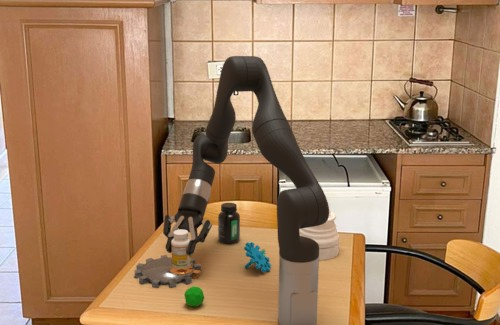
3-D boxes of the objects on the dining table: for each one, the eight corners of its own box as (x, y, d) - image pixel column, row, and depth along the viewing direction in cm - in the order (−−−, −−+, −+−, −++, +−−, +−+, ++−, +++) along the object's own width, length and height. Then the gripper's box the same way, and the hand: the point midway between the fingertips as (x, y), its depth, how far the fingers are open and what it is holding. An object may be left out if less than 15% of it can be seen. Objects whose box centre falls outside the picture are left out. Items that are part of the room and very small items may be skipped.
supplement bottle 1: (181, 258, 180) (180, 226, 177) (195, 264, 176) (194, 231, 174) (168, 265, 176) (166, 232, 173) (181, 270, 172) (180, 237, 170)
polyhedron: (208, 304, 160) (208, 287, 158) (194, 311, 156) (193, 294, 155) (194, 298, 163) (194, 281, 162) (180, 305, 159) (180, 287, 158)
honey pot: (338, 261, 186) (340, 203, 181) (294, 258, 188) (295, 200, 183) (339, 244, 198) (341, 189, 193) (298, 242, 200) (299, 187, 195)
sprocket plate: (207, 283, 171) (206, 277, 171) (138, 291, 167) (137, 285, 166) (194, 256, 188) (194, 251, 188) (132, 263, 184) (131, 257, 183)
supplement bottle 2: (239, 244, 198) (239, 208, 194) (217, 244, 197) (217, 208, 194) (239, 236, 204) (240, 201, 201) (218, 236, 204) (218, 201, 201)
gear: (265, 273, 174) (242, 244, 175) (250, 285, 176) (228, 257, 177) (278, 263, 184) (256, 236, 185) (264, 275, 186) (242, 248, 187)
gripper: (168, 189, 180) (150, 244, 172) (215, 194, 175) (198, 251, 168) (176, 201, 186) (159, 255, 178) (222, 206, 182) (206, 261, 174)
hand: (178, 252), depth 173 cm, fingers closed on supplement bottle 1, 5 cm apart
